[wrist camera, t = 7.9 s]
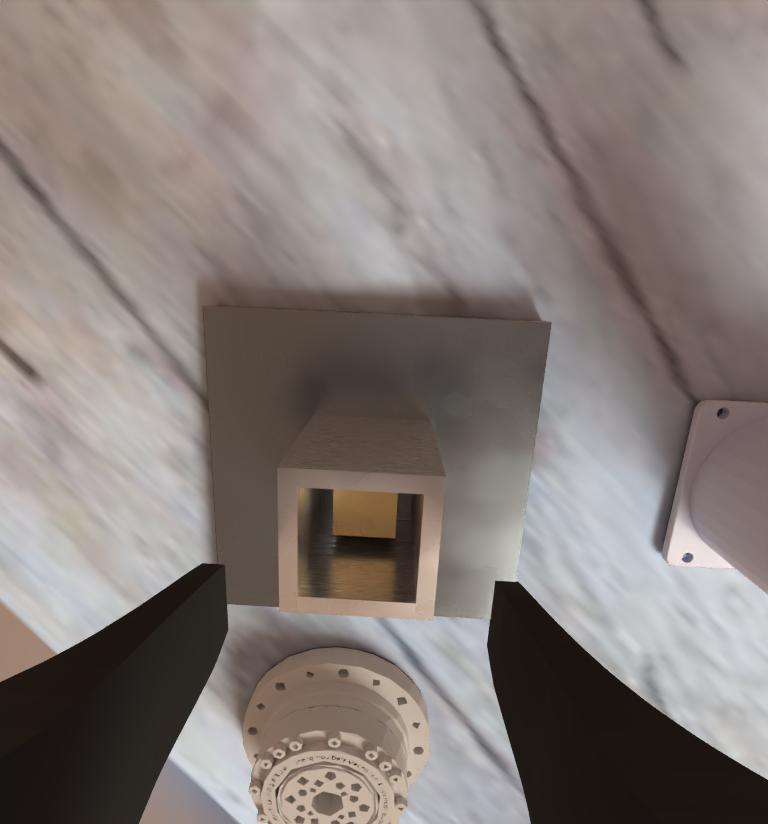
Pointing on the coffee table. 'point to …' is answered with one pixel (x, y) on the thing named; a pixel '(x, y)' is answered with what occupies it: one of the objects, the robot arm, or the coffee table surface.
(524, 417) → the post plate
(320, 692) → the mechanical component
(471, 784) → the coffee table surface
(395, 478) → the collar
